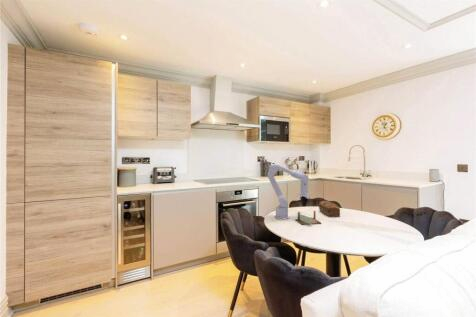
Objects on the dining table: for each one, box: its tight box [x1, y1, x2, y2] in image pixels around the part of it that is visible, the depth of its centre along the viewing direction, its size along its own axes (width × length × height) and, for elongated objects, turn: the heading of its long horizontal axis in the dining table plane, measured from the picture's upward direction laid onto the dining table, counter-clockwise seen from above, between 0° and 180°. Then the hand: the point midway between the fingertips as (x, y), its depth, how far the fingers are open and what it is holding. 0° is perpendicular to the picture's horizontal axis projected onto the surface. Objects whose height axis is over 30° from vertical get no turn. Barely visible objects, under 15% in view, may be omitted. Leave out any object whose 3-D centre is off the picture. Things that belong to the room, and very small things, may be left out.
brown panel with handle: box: [294, 210, 322, 226], centre depth 171 cm, size 16×12×7 cm
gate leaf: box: [300, 212, 313, 225], centre depth 165 cm, size 11×2×5 cm, turn 26°
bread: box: [318, 200, 341, 218], centre depth 191 cm, size 19×11×10 cm, turn 2°
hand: (304, 206), depth 182 cm, fingers closed
